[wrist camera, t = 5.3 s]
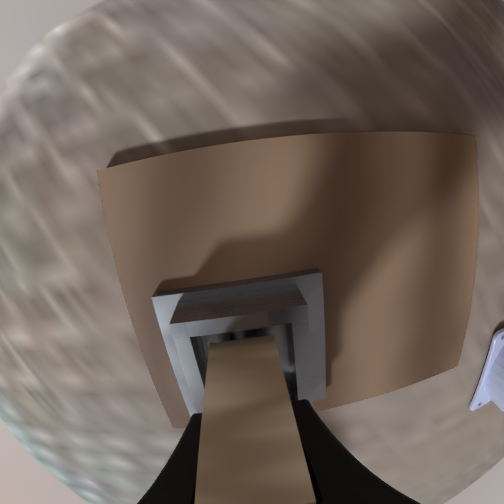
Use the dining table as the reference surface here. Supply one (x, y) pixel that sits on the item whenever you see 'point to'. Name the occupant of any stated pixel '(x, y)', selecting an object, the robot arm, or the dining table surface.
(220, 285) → the grey square socket
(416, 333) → the walnut board
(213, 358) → the tan wooden block
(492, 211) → the dining table surface
